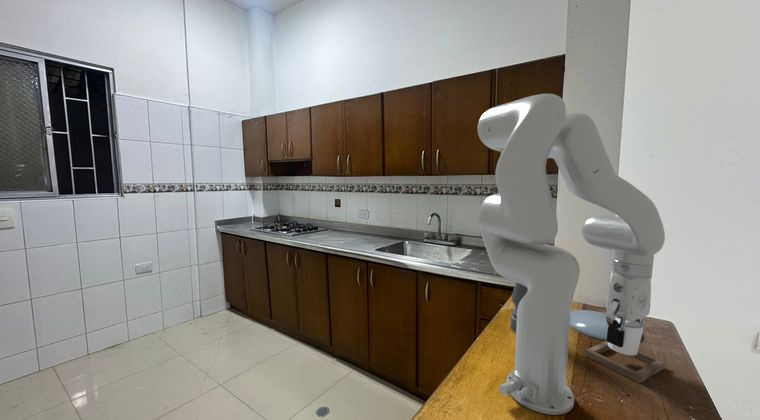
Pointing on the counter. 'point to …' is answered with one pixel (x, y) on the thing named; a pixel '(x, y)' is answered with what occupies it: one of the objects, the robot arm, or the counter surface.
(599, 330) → the plate
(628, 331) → the shot glass
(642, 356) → the pocket frame
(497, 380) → the counter surface
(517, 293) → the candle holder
